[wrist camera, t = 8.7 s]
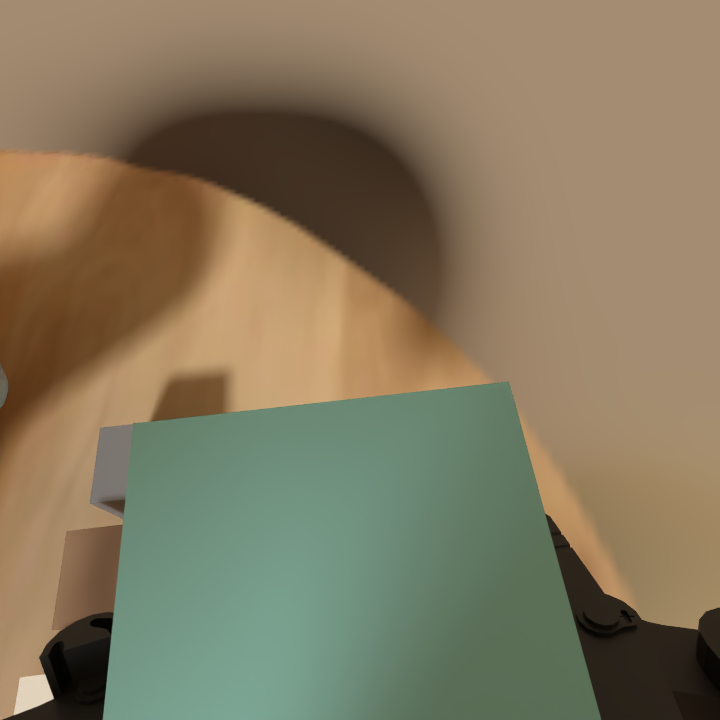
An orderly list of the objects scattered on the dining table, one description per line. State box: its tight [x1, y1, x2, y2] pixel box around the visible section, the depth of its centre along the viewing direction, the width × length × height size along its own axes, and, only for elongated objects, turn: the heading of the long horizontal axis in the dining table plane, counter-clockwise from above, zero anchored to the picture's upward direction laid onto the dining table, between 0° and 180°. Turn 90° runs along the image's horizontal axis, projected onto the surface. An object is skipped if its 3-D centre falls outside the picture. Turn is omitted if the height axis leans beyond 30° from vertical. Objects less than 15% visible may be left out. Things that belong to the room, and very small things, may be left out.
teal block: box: [103, 382, 601, 720], centre depth 11 cm, size 5×5×12 cm
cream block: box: [14, 674, 54, 715], centre depth 28 cm, size 5×5×10 cm
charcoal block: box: [90, 424, 133, 518], centre depth 36 cm, size 5×5×6 cm
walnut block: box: [52, 525, 123, 630], centre depth 32 cm, size 5×5×8 cm
